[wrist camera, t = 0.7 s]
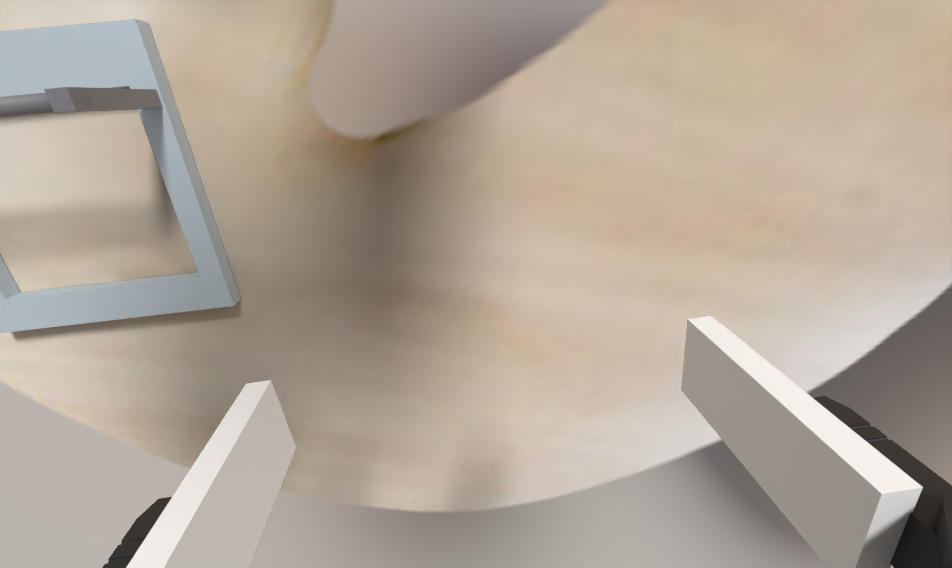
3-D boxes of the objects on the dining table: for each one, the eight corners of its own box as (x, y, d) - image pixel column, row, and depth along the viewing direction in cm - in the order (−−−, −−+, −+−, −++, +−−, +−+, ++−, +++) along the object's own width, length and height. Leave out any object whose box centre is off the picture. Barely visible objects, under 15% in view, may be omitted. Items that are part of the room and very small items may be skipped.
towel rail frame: (-145, 48, 31) (-392, 28, 22) (148, 22, 32) (31, -8, 22) (14, 325, 39) (-114, 394, 30) (240, 298, 40) (183, 358, 31)
